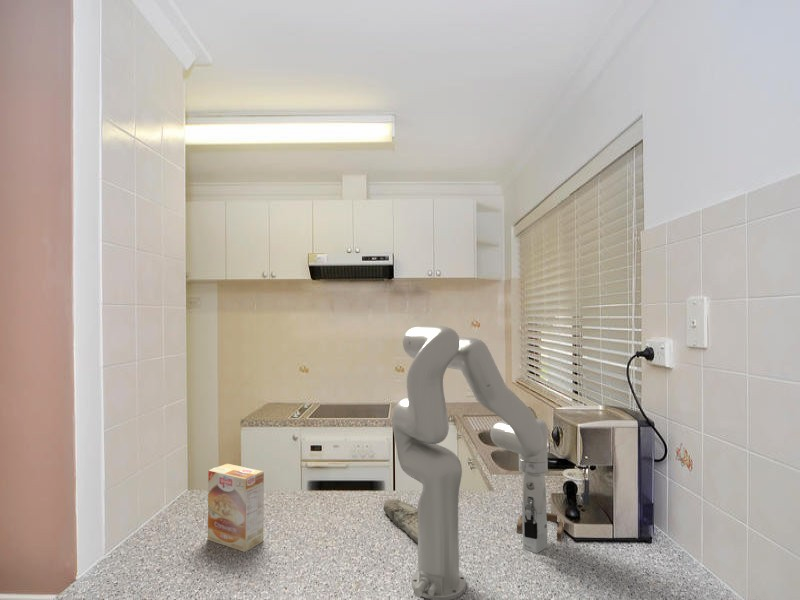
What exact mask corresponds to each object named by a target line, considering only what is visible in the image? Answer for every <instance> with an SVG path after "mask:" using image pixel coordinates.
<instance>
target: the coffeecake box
mask: <svg viewBox="0 0 800 600" xmlns="http://www.w3.org/2000/svg"><path fill="white" fill-rule="evenodd" d="M207 474H208V477H207V478H208V479H207V481H208V482H207V483H208V489H207V490H208V491H207V497H208V498H207V541H210V542H214V543H216V544H219V545H223V546H225V547H229V548H232V549H235V550H237V551H241V552H244V553H247V552H248V551H250V550H252V548H254V547H256V546H257V545H259V544H261V543H263V542H264V521H265V520H264V513H265V512H264V500H265V499H264V496H265V493H264V492H265V491H264V490H265V489H264V488H265V484H264V483H265V481H264V479H265V471H264V470H258V469H254V468H249V467H244V466H240V465H237V464H236V465H235V464H231V463H225V464H222V465H219V466H216V467H212V468H210V469H208V473H207Z"/></svg>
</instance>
